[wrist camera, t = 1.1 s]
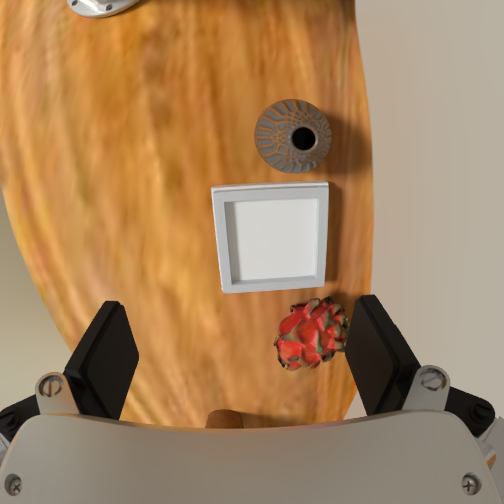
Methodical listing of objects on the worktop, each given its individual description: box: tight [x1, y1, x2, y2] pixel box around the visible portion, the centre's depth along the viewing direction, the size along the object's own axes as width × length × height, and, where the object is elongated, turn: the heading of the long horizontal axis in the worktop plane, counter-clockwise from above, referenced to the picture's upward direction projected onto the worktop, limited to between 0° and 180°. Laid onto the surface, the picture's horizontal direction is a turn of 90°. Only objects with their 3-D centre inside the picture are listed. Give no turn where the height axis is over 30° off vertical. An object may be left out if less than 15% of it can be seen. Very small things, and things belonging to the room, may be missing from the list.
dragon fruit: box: [274, 296, 350, 371], centre depth 35 cm, size 8×8×12 cm
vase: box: [254, 99, 332, 173], centre depth 24 cm, size 7×7×9 cm
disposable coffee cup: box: [205, 410, 244, 429], centre depth 42 cm, size 10×10×12 cm
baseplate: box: [211, 181, 329, 293], centre depth 32 cm, size 12×12×2 cm
